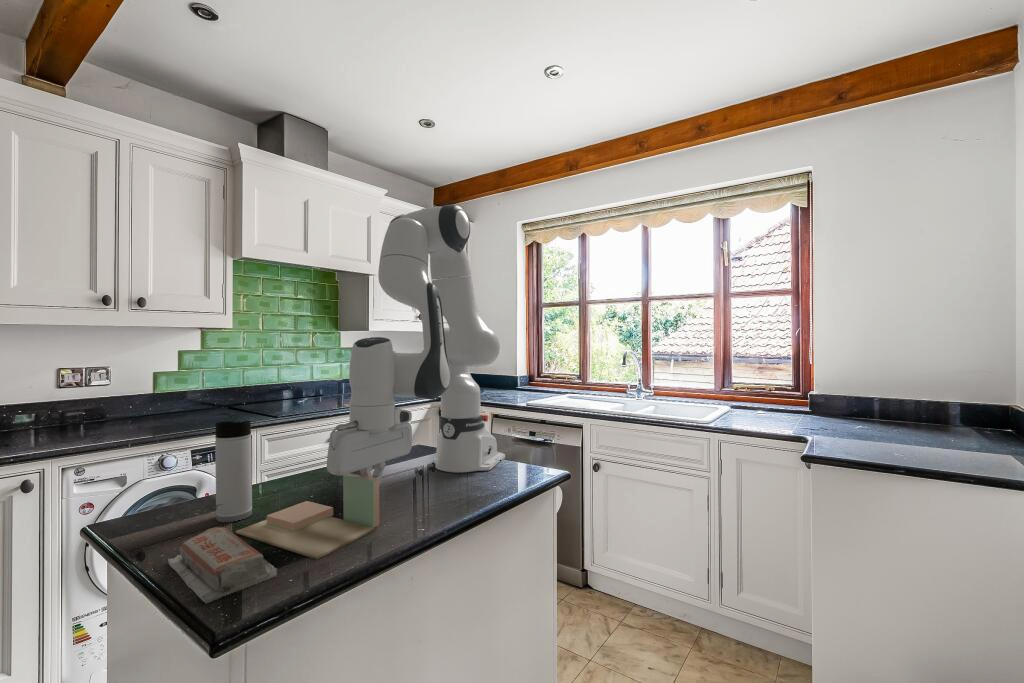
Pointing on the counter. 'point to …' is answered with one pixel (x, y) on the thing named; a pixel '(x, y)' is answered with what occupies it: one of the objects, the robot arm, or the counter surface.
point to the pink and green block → (361, 499)
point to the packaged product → (220, 564)
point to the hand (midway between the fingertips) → (372, 485)
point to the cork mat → (308, 536)
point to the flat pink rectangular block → (299, 516)
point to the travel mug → (233, 470)
